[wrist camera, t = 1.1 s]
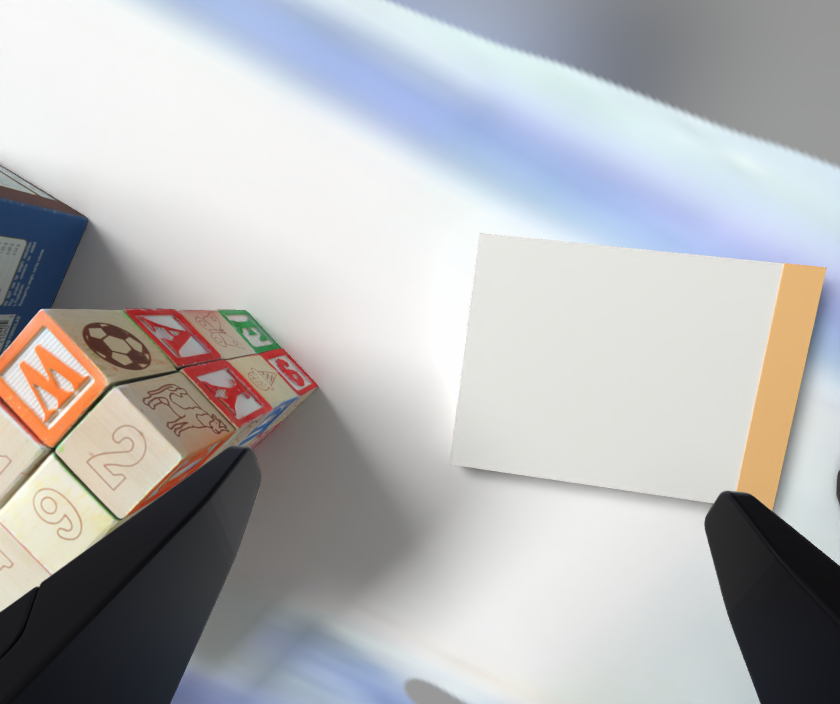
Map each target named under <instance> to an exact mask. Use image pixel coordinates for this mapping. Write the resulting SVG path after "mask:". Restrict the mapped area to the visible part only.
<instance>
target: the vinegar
mask: <svg viewBox="0 0 840 704" xmlns="http://www.w3.org/2000/svg"><path fill="white" fill-rule="evenodd" d="M837 497H838V500H839V503H840V471H839V473H838V478H837Z"/></svg>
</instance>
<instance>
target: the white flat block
mask: <svg viewBox="0 0 840 704" xmlns="http://www.w3.org/2000/svg"><path fill="white" fill-rule="evenodd" d="M825 272H826V267H816V266H806V265H796V264H786V263H774V262H764V261H754V260H744V259H734V258H724V257H714V256H703V255H693V254H683V253H673V252H663V251H653V250H643V249H633V248H623V247H613V246H603V245H593V244H583V243H573V242H563V241H553V240H542V239H532V238H522V237H512V236H502V235H492V234H482V233H480V234H479V239H478V247H477V255H476V263H475V271H474V279H473V287H472V294H471V302H470V310H469V318H468V326H467V334H466V342H465V350H464V358H463V365H462V373H461V381H460V389H459V397H458V405H457V413H456V421H455V428H454V436H453V444H452V452H451V463H450V465H456V466H463V467H470V468H477V469H483V470H490V471H497V472H504V473H510V474H517V475H524V476H531V477H538V478H544V479H551V480H558V481H565V482H571V483H578V484H585V485H592V486H599V487H605V488H612V489H619V490H626V491H632V492H639V493H646V494H653V495H660V496H666V497H673V498H680V499H687V500H693V501H700V502H707V503H714V502H715V501H716V499H717V497H718V496H719V494H720V493H721V492H723V491H738V492H746V493H749V494H751V495H753V496H754V497H756V498H757V499H758V500H759V501H760V502H762V503H763V504H764V505H765V506H767V507H768V508H769V509H770V510H771V511H773V506H774V502H775V497H776V493H777V488H778V484H779V479H780V475H781V470H782V466H783V461H784V457H785V452H786V448H787V443H788V439H789V434H790V430H791V425H792V421H793V416H794V412H795V407H796V403H797V398H798V394H799V389H800V385H801V380H802V376H803V371H804V367H805V362H806V358H807V353H808V349H809V344H810V340H811V335H812V331H813V326H814V322H815V317H816V313H817V308H818V304H819V299H820V295H821V290H822V286H823V281H824V277H825Z"/></svg>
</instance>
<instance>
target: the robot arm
mask: <svg viewBox="0 0 840 704" xmlns="http://www.w3.org/2000/svg"><path fill="white" fill-rule="evenodd" d="M260 481H261V473H260V469H259V466H258V463H257V459H256V456H255V453H254V450H253V449H252V448H251V447H249V446H238V445H233V446H230V447H228V448H226V449H225V450H223V451H222V452H221V453H219V454H218V455H217V456H215V457H214V458H212V459H211V460H210V461H208V462H207V463H205V464H204V465H203V466H201V467H200V468H199V469H197V470H196V471H194V472H193V473H192V474H190V475H189V476H188V477H186V478H185V479H183V480H182V481H181V482H179V483H178V484H177V485H175V486H174V487H172V488H171V489H170V490H168V491H167V492H165V493H164V494H163V495H161V496H160V497H159V498H157V499H156V500H154V501H153V502H152V503H150V504H149V505H148V506H146V507H145V508H143V509H142V510H141V511H139V512H138V513H136V514H135V515H134V516H132V517H131V518H130V519H128V520H127V521H125V522H124V523H123V524H121V525H120V526H119V527H117V528H116V529H114V530H113V531H112V532H110V533H109V534H107V535H106V536H105V537H103V538H102V539H101V540H99V541H98V542H96V543H95V544H94V545H92V546H91V547H90V548H88V549H87V550H85V551H84V552H83V553H81V554H80V555H79V556H77V557H76V558H74V559H73V560H72V561H70V562H69V563H67V564H66V565H65V566H63V567H62V568H61V569H59V570H58V571H56V572H55V573H54V574H52V575H51V576H50V577H48V578H47V579H45V580H44V581H43V582H42V583H41V584H40V586H36V587H34V588H33V589H31V590H30V591H29V592H27V593H26V594H24V595H23V596H22V597H20V598H19V599H18V600H16V601H15V602H13V603H12V604H11V605H9V606H8V607H6V608H5V609H4V610H2V611H1V612H0V704H170V703H171V701H172V698H173V696H174V694H175V692H176V689H177V687H178V685H179V683H180V681H181V678H182V676H183V674H184V672H185V669H186V667H187V665H188V663H189V660H190V658H191V656H192V654H193V652H194V649H195V647H196V645H197V643H198V640H199V638H200V636H201V634H202V632H203V629H204V627H205V625H206V623H207V620H208V618H209V616H210V614H211V611H212V609H213V607H214V605H215V603H216V600H217V598H218V596H219V594H220V591H221V589H222V587H223V585H224V582H225V580H226V578H227V576H228V574H229V571H230V569H231V567H232V564H233V562H234V560H235V557H236V555H237V552H238V549H239V546H240V543H241V540H242V537H243V534H244V531H245V528H246V525H247V522H248V519H249V516H250V513H251V510H252V507H253V504H254V501H255V498H256V495H257V492H258V489H259V486H260ZM705 531H706V535H707V539H708V543H709V547H710V551H711V554H712V558H713V562H714V566H715V570H716V573H717V577H718V581H719V585H720V589H721V593H722V596H723V600H724V604H725V607H726V610H727V614H728V617H729V620H730V622H731V625H732V628H733V631H734V634H735V636H736V639H737V642H738V644H739V647H740V650H741V652H742V655H743V658H744V660H745V663H746V666H747V668H748V671H749V674H750V676H751V679H752V682H753V684H754V687H755V690H756V692H757V695H758V698H759V700H760V703H761V704H840V566H839V565H838V564H837V563H835V562H834V561H833V560H832V559H831V558H829V557H828V556H827V555H826V554H824V553H823V552H822V551H821V550H819V549H818V548H817V547H816V546H815V545H813V544H812V543H811V542H810V541H808V540H807V539H806V538H805V537H803V536H802V535H801V534H800V533H799V532H797V531H796V530H795V529H794V528H792V527H791V526H790V525H789V524H787V523H786V522H785V521H784V520H783V519H781V518H780V517H779V516H778V515H776V514H775V513H774V512H773V511H771V510H770V509H769V508H768V507H767V506H765V505H764V504H763V503H762V502H760V501H759V500H758V499H757V498H756V497H754V496H753V495H751V494H749V493H746V492H738V491H723V492H721V493H720V494H719V496H718V497H717V499H716V501H715V502H714V504H713V505H712V507H711V509H710V510H709V512H708V513H707V515H706V518H705Z"/></svg>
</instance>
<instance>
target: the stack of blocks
mask: <svg viewBox="0 0 840 704" xmlns="http://www.w3.org/2000/svg"><path fill="white" fill-rule="evenodd" d="M317 387H318V385H317V384H316V383H315V382H314V381H313V380H312V379H311V378H310V377H309V376H308V375H307V374H306V372H305V371H304V370H303V369H302V368H301V367H300V366H299V365H298V364H297V363H296V362H295V361H294V360H293V359H292V358H291V357H290V356H289V355H288V354H287V353H286V351H285V350H283V349H282V348H281V347H280V346H279V345H278V344H277V343H276V342H275V341H274V340H273V339H272V338H271V337H270V336H269V335H268V334H267V332H266V331H265V330H264V329H263V328H262V327H261V326H260V325H259V324H258V323H257V322H256V321H255V320H254V319H253V318H252V317H251V315H250V314H249V313H248V312H247V311H246V310H215V311H204V310H180V311H176V310H174V309H145V308H143V309H131V308H127V309H123V310H91V309H41V310H40V311H39V312H38V313H37V314H36V315H35V316H34V317H33V319H32V320H31V321H30V322H29V323H28V324H27V326H26V327H25V328H24V329H23V330H22V332H21V333H20V334H19V335H18V336H17V338H16V339H15V340H14V341H13V342H12V344H11V345H10V346H9V347H8V348H7V349H6V350H5V351H4V352H3V353H2V355H1V356H0V612H1V611H2V610H4V609H5V608H6V607H8V606H9V605H11V604H12V603H13V602H15V601H16V600H18V599H19V598H20V597H22V596H23V595H24V594H26V593H27V592H29V591H30V590H31V589H33V588H34V587H36V586H40V584H41V583H42V582H43V581H44V580H45V579H47V578H48V577H50V576H51V575H52V574H54V573H55V572H56V571H58V570H59V569H61V568H62V567H63V566H65V565H66V564H67V563H69V562H70V561H72V560H73V559H74V558H76V557H77V556H79V555H80V554H81V553H83V552H84V551H85V550H87V549H88V548H90V547H91V546H92V545H94V544H95V543H96V542H98V541H99V540H101V539H102V538H103V537H105V536H106V535H107V534H109V533H110V532H112V531H113V530H114V529H116V528H117V527H119V526H120V525H121V524H123V523H124V522H125V521H127V520H128V519H130V518H131V517H132V516H134V515H135V514H136V513H138V512H139V511H141V510H142V509H143V508H145V507H146V506H148V505H149V504H150V503H152V502H153V501H154V500H156V499H157V498H159V497H160V496H161V495H163V494H164V493H165V492H167V491H168V490H170V489H171V488H172V487H174V486H175V485H177V484H178V483H179V482H181V481H182V480H183V479H185V478H186V477H188V476H189V475H190V474H192V473H193V472H194V471H196V470H197V469H199V468H200V467H201V466H203V465H204V464H205V463H207V462H208V461H210V460H211V459H212V458H214V457H215V456H217V455H218V454H219V453H221V452H222V451H223V450H225V449H226V448H228V447H230V446H233V445H238V446H249V447H251V448H252V449H253V448H254V447H256V446H257V445H258V444H259V443H260V442H261V441H262V440H263V439H264V438H265V437H266V436H267V435H268V434H269V433H270V432H271V431H272V430H273V429H274V428H275V427H276V426H278V425H279V424H280V423H281V422H282V421H283V420H284V419H286V418H287V417H288V416H289V415H290V414H291V413H292V412H293V411H294V410H295V409H296V408H297V407H298V406H299V405H300V404H301V403H302V402H303V401H304V400H306V399H307V398H308V397H309V396H310V395H311V394H312V393H313V392H314V391H315V390H316V389H317Z"/></svg>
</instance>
